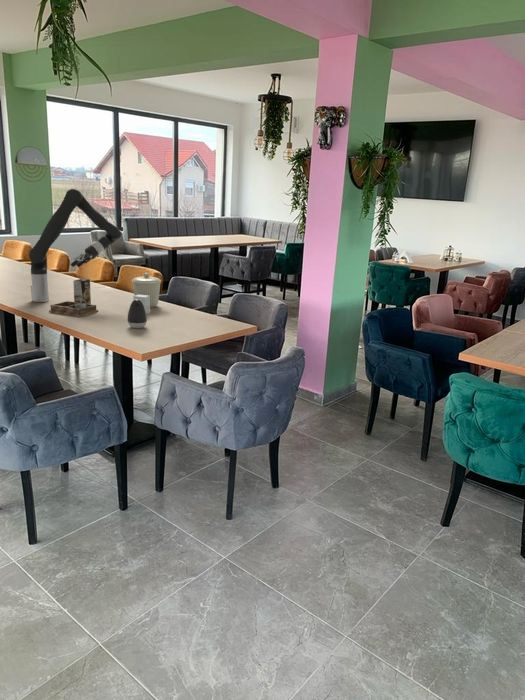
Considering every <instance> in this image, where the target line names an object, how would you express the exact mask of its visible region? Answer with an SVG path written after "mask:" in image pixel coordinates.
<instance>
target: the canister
mask: <svg viewBox="0 0 525 700" xmlns="http://www.w3.org/2000/svg"><path fill="white" fill-rule="evenodd" d="M131 282H132V287H133V296H135V295H138V294H139V295H148V296H150V309H151V308H156V307H157V306H158V305H159V300H160V289H161V283H162V279H160V278H158V277H156V276H150V273H149V272H144V273H143V275H142V276H136V277H134V278H133V279H131Z"/></svg>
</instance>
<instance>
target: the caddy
mask: <svg viewBox="0 0 525 700" xmlns="http://www.w3.org/2000/svg"><path fill="white" fill-rule="evenodd" d="M48 312H49V313H52V312H54V313H53V314H59V313H60V315H65V314H66V315H65V316H72V317H77V316H78V318H81V317H84V315H85V316H88V315H91V313H92V314H94V312H95V313H97V312H99V309H97V305H96V304H92V303H91V304H85V303H78V302H74V301H72V300H66V301H62V302H58V303H53V304H50V309H49V310H48ZM87 314H88V315H87Z"/></svg>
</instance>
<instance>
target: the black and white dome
mask: <svg viewBox="0 0 525 700" xmlns="http://www.w3.org/2000/svg"><path fill="white" fill-rule="evenodd" d="M127 313H128V314H127V322H128V325H129V327H131V328H132V329H143V328H145V326H146V324H147V321H148V314H146V311H145V307H144V305H143V303H142V302H141V301H140V300H138V299H136V300H132V302H131V303H130V305H129V309H128V311H127Z"/></svg>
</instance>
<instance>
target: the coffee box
mask: <svg viewBox="0 0 525 700" xmlns="http://www.w3.org/2000/svg"><path fill="white" fill-rule="evenodd" d="M91 296H92V294H91V279H88V278H79V279H76V280H73V298H74V299H73V302H78V303H85V304H92V300H91V299H92V297H91Z"/></svg>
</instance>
